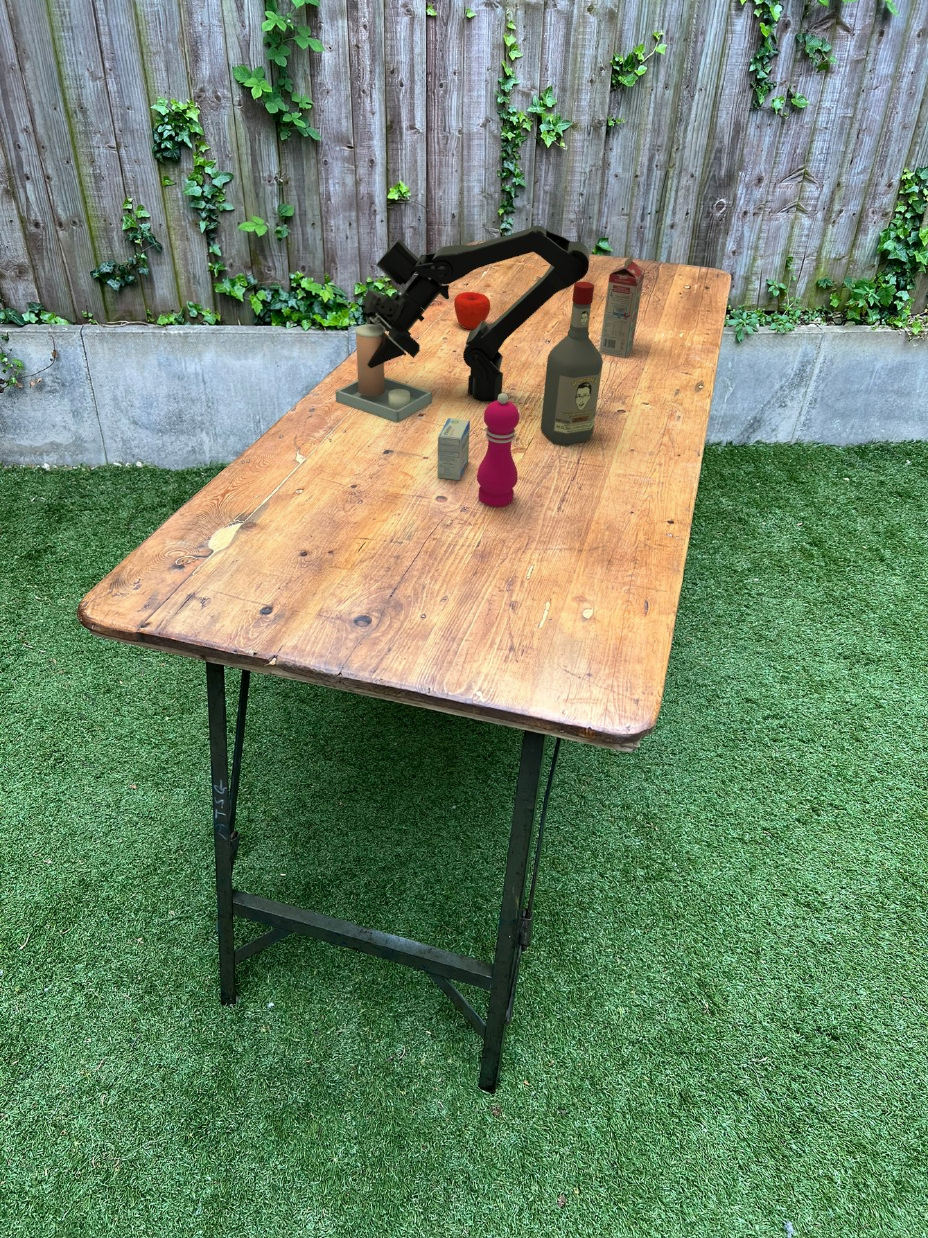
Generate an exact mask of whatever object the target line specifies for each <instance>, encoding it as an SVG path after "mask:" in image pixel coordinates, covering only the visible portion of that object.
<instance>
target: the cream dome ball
mask: <svg viewBox="0 0 928 1238" xmlns="http://www.w3.org/2000/svg"><path fill="white" fill-rule="evenodd" d="M409 403H410V392H409V391H407V390H404V389H394V390H391V391H390V392H389V408H391V409H394V410H399V409H400V408H402V407H404V406H406V405H407V404H409Z"/></svg>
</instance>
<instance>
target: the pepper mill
mask: <svg viewBox="0 0 928 1238" xmlns="http://www.w3.org/2000/svg"><path fill="white" fill-rule="evenodd" d="M483 421H484V423H485V426H486V428H485V431H486V432H485V437H486V439H487V449H486V453H485V455H484V456H483V458H482V460H481V462H480V464H479V466H478V469H477V472H476V473H477V474H476V481H477V483H478V484H479V487H478V494H477V495H478V498H477V499H478V500H479V502H481V503H482V504H483V505H486V506H487V507H491V508H492V507H494V508H502V507H506V506H507V507H508V506H509V505H510V504H512V503H513V501H514V495H515V492H514V491H515V490H514V487H515V486H516V485H517V483H518V477H519V476H518V470H517V465H516V464H515V461H514V459H513V455H512V450H511V449H512V443H513V441H514V439H516V427H517V426H518V424H519V423H520V412H519V409H518V408H517V406H516V405H515V404H514V403H513V402H511V401H509V396H508V395H507V393H505V392H502V393H501V394H499V396H498V400H497V401H494V402H490V403H489V404H488V405H487V406H486V407H485V410H484V413H483Z"/></svg>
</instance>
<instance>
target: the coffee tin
mask: <svg viewBox="0 0 928 1238" xmlns="http://www.w3.org/2000/svg"><path fill="white" fill-rule="evenodd" d="M382 332H383V333H384V330H383V328H382V327H381V326H378V325H373V324H362V325H358V326H357V327H356V328H355V341H356V366H357V380H358V391H359V393H360V394H362V395H365V396H378V395H381V394H383V393H384V392H385V383H384V377H385V362H384V363H382V364H380V365H378V366H375V367H373V368H370V367H369V366H368V363H369V361H370V359H371V358H372V356H373V355H374V353H375V352H376V350H377V349H378V347H379V346H380V344H381V343H382Z"/></svg>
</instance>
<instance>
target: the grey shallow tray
mask: <svg viewBox="0 0 928 1238" xmlns="http://www.w3.org/2000/svg"><path fill="white" fill-rule="evenodd" d="M384 383H385V392H384V393H383V394H381V395H378V396H365V395H362V394H360V393H359V391H358V379H356V380H355V381H353V382H351V383H349V384H347V385H345V386H342V387H340V388H339V389H337V390H335V402H336V403H340V404H343V405H346V406H348V407H352V408H353V409H357V410H360V411H363V412H365V413H368V414H371V415H374V416H377V417H380V418H383V419H385V420H388V421H391V422H394V423H397V424H398V423H400V422H401V421H403V420H405V419H407V418H408V417H410V416H411V415H413V414H415V413H417V412H419V411H421V410H422V409H423V408H425V407H427V406H429V405H431V404H432V403H433V402H432V401H433V393H432V392H431V391H428V390H425V389H422V388H420V387H419V388H418V387H415V386H412V385H410V384H406V383H403V382H400V381H397V380H395V379H391V378H389V377H385V376H384ZM394 389H404V390H407V391H409V392H410V403H409V404H407V405H406V406H404V407H402V408H400V409H399V410H394V409H391V408H389V392H390V391H391V390H394Z"/></svg>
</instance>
